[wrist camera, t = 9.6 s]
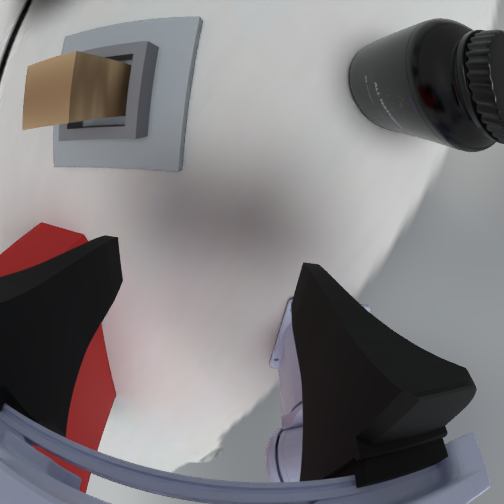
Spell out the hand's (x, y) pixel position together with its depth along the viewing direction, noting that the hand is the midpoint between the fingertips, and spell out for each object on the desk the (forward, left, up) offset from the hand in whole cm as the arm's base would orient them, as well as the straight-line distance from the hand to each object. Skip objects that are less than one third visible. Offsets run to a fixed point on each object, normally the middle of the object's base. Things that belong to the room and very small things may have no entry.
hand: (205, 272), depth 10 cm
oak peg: (+7, +9, -9) cm, 14 cm away
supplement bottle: (+10, -10, -10) cm, 18 cm away
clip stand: (+7, +9, -10) cm, 15 cm away
